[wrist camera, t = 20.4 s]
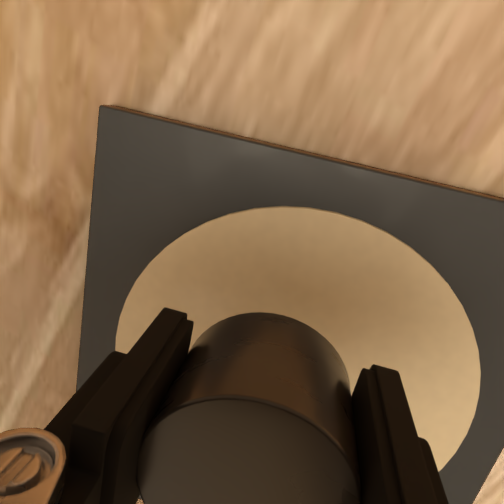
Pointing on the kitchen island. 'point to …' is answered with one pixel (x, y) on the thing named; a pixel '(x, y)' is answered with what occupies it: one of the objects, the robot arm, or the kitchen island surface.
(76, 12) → the kitchen island surface
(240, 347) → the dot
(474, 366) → the face board
